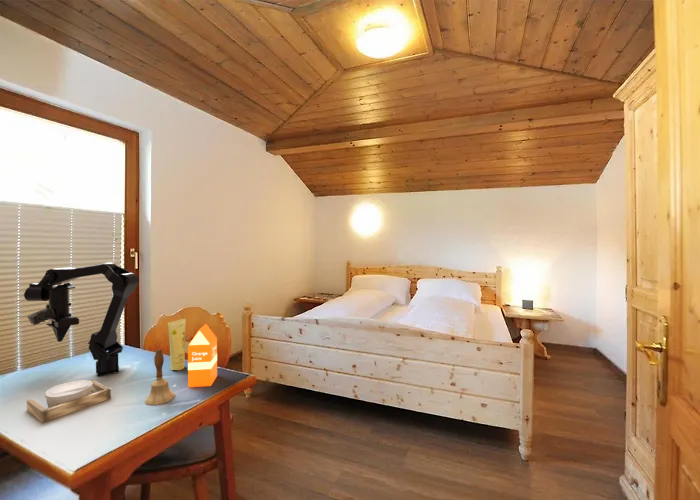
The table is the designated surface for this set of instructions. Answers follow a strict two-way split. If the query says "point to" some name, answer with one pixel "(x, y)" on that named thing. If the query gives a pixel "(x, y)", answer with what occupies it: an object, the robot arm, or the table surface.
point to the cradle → (69, 404)
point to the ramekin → (68, 392)
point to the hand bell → (159, 384)
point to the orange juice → (202, 358)
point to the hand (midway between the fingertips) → (59, 341)
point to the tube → (177, 343)
